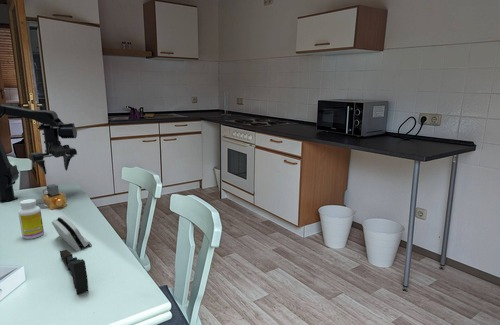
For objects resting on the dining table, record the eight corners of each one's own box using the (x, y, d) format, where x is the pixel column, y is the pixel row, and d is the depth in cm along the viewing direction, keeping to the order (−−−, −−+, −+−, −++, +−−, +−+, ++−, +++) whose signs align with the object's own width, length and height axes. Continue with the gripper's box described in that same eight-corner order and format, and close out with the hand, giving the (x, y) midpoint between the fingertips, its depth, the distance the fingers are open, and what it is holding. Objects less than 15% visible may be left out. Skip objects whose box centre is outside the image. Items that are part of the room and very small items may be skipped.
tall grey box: (48, 203, 154) (46, 185, 152) (56, 201, 156) (53, 184, 155) (53, 205, 152) (50, 187, 150) (60, 203, 154) (57, 185, 152)
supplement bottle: (46, 235, 125) (41, 200, 122) (25, 241, 121) (19, 205, 118) (40, 230, 130) (35, 196, 127) (19, 235, 125) (14, 201, 122)
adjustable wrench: (71, 271, 111) (89, 292, 91) (62, 274, 110) (78, 296, 89) (67, 245, 111) (84, 261, 90) (57, 247, 109) (73, 264, 89)
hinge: (92, 246, 117) (79, 222, 112) (79, 255, 114) (64, 231, 110) (74, 231, 128) (60, 209, 124) (61, 239, 126) (47, 217, 121)
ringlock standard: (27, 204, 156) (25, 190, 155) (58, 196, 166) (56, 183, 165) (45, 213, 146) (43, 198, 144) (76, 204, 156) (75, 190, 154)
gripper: (36, 143, 148) (41, 179, 152) (80, 138, 162) (84, 171, 166) (26, 140, 155) (31, 175, 158) (69, 135, 169) (73, 167, 172)
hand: (56, 172), depth 164 cm, fingers open, 9 cm apart
